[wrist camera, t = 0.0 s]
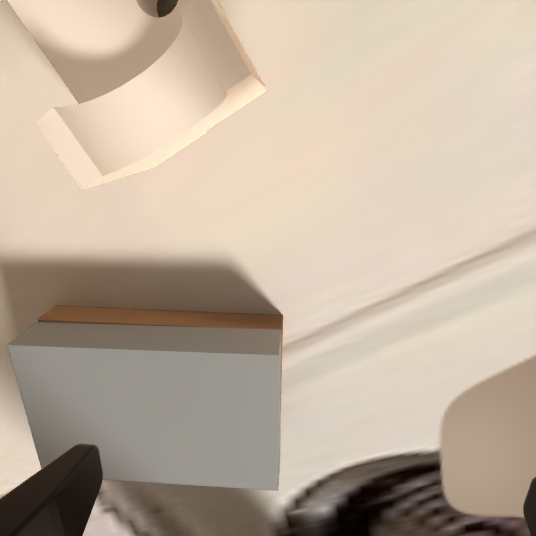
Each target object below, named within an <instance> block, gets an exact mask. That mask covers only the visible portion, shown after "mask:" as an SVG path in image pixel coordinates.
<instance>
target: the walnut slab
mask: <svg viewBox="0 0 536 536" xmlns="http://www.w3.org/2000/svg"><path fill="white" fill-rule="evenodd" d="M38 322H58V323H89V324H119V325H150V326H181V327H212V328H242V329H273V330H281V377H282V337H283V315H262V314H239V313H216V312H192V311H169V310H146V309H122V308H99V307H76V306H55V307H54V308H52V309H51V310H50V311H48V312H47V313H46V314H44V315H43V316H42V317H40V318H39V319H38ZM280 416H281V412H280Z"/></svg>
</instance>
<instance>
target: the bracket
mask: <svg viewBox="0 0 536 536" xmlns="http://www.w3.org/2000/svg"><path fill="white" fill-rule="evenodd" d="M7 1H8V2H9V4H10V5H11V6H12V8H13V9H14V11H15V12H16V14H17V15H18V17H19V18H20V19H21V21H22V22H23V24H24V25H25V27H26V28H27V30H28V31H29V32H30V34H31V35H32V37H33V38H34V40H35V41H36V42H37V44H38V45H39V47H40V48H41V50H42V51H43V53H44V54H45V55H46V57H47V58H48V60H49V61H50V63H51V64H52V66H53V67H54V68H55V70H56V71H57V73H58V74H59V76H60V77H61V79H62V80H63V81H64V83H65V84H66V86H67V87H68V89H69V90H70V92H71V93H72V94H73V96H74V97H75V99H76V100H77V102H78V103H79V104H77V105H73V106H68V107H54V108H52V109H51V110H50V111H49V112H47V113H46V114H45V115H43V116H42V117H41V118H39V119H38V120H37V121H36V122H34V124H35V126H36V127H37V128H38V130H39V131H40V133H41V134H42V135H43V137H44V138H45V139H46V141H47V142H48V143H49V145H50V146H51V147H52V149H53V150H54V152H55V153H56V154H57V156H58V157H59V158H60V160H61V161H62V162H63V164H64V165H65V166H66V168H67V169H68V171H69V172H70V173H71V175H72V176H73V177H74V179H75V180H76V181H77V183H78V184H79V185H80V187H81V188H82V190H84V189H87V188H90V187H94V186H97V185H100V184H103V183H106V182H109V181H113V180H116V179H119V178H122V177H125V176H129V175H132V174H135V173H138V172H141V171H144V170H148V169H151V168H154V167H155V166H157V165H158V164H160V163H161V162H163V161H164V160H166V159H167V158H169V157H170V156H172V155H173V154H175V153H176V152H178V151H179V150H181V149H182V148H184V147H185V146H187V145H188V144H190V143H191V142H193V141H194V140H196V139H197V138H199V137H200V136H202V135H203V134H205V133H206V132H208V129H210V128H211V127H213V126H214V125H216V124H217V123H219V122H220V121H222V120H223V119H225V118H226V117H228V116H229V115H231V114H232V113H234V112H235V111H237V110H238V109H240V108H241V107H243V106H244V105H246V104H247V103H249V102H250V101H252V100H253V99H255V98H256V97H258V96H259V95H261V94H262V93H264V92H265V91H267V89H266V87H265V85H264V83H263V82H262V80H261V78H260V76H259V74H258V73H257V71H256V69H255V67H254V65H253V63H252V62H251V60H250V58H249V56H248V54H247V53H246V51H245V49H244V47H243V45H242V44H241V42H240V40H239V38H238V36H237V34H236V33H235V31H234V29H233V27H232V25H231V24H230V22H229V20H228V18H227V16H226V15H225V13H224V11H223V9H222V7H221V5H220V4H219V2H218V0H178V2H177V5H176V7H175V8H174V10H173V11H172V12H171V13H170V14H168V15H166V16H164V17H158V14H157V0H7Z"/></svg>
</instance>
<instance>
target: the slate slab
mask: <svg viewBox="0 0 536 536" xmlns="http://www.w3.org/2000/svg"><path fill="white" fill-rule="evenodd" d="M7 347H8V350H9V354H10V357H11V361H12V365H13V368H14V372H15V375H16V379H17V383H18V386H19V390H20V393H21V397H22V400H23V404H24V408H25V411H26V415H27V418H28V422H29V426H30V429H31V433H32V436H33V440H34V443H35V447H36V451H37V454H38V458H39V461H40V465H41V469H43V468H44V467H45V466H47V465H48V464H50V463H51V462H52V461H54V460H55V459H57V458H58V457H59V456H61V455H62V454H64V453H65V452H66V451H68V450H69V449H71V448H72V447H73V446H75V445H77V444H92V445H96V446H97V447H98V449H99V453H100V459H101V465H102V470H103V480H117V481H133V482H149V483H165V484H181V485H197V486H213V487H229V488H245V489H261V490H277V491H278V485H279V468H280V412H281V330H273V329H242V328H212V327H181V326H150V325H119V324H89V323H58V322H37V323H35V324H34V325H33V326H31V327H30V328H29V329H27V330H26V331H25V332H24V333H22V334H21V335H20V336H18V337H17V338H16V339H14V340H13V341H12V342H11V343H9V344H8V345H7Z"/></svg>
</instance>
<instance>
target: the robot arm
mask: <svg viewBox="0 0 536 536" xmlns="http://www.w3.org/2000/svg"><path fill="white" fill-rule="evenodd" d="M102 480H103V470H102V465H101V459H100V453H99V449H98V447H97V446H96V445H92V444H77V445H75V446H73V447H72V448H71V449H69V450H68V451H66V452H65V453H64V454H62V455H61V456H59V457H58V458H57V459H55V460H54V461H52V462H51V463H50V464H48V465H47V466H45V467H44V468H43V469H41V470H40V471H38V472H37V473H36V474H34V475H33V476H31V477H30V478H29V479H27V480H26V481H24V482H23V483H22V484H20V485H19V486H17V487H16V488H15V489H13V490H12V491H10V492H9V493H8V494H6V495H5V496H3V497H2V498H1V499H0V536H82V535H83V533H84V530H85V527H86V525H87V522H88V519H89V517H90V514H91V511H92V508H93V506H94V503H95V500H96V498H97V495H98V492H99V490H100V487H101V484H102ZM523 511H524V517H525V520H526V523H527V526H528V528H529V531H530V534H531V536H536V477H535V478H533V479H532V481H531V484H530V488H529V490H528V493H527V496H526V499H525V502H524V506H523Z"/></svg>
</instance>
